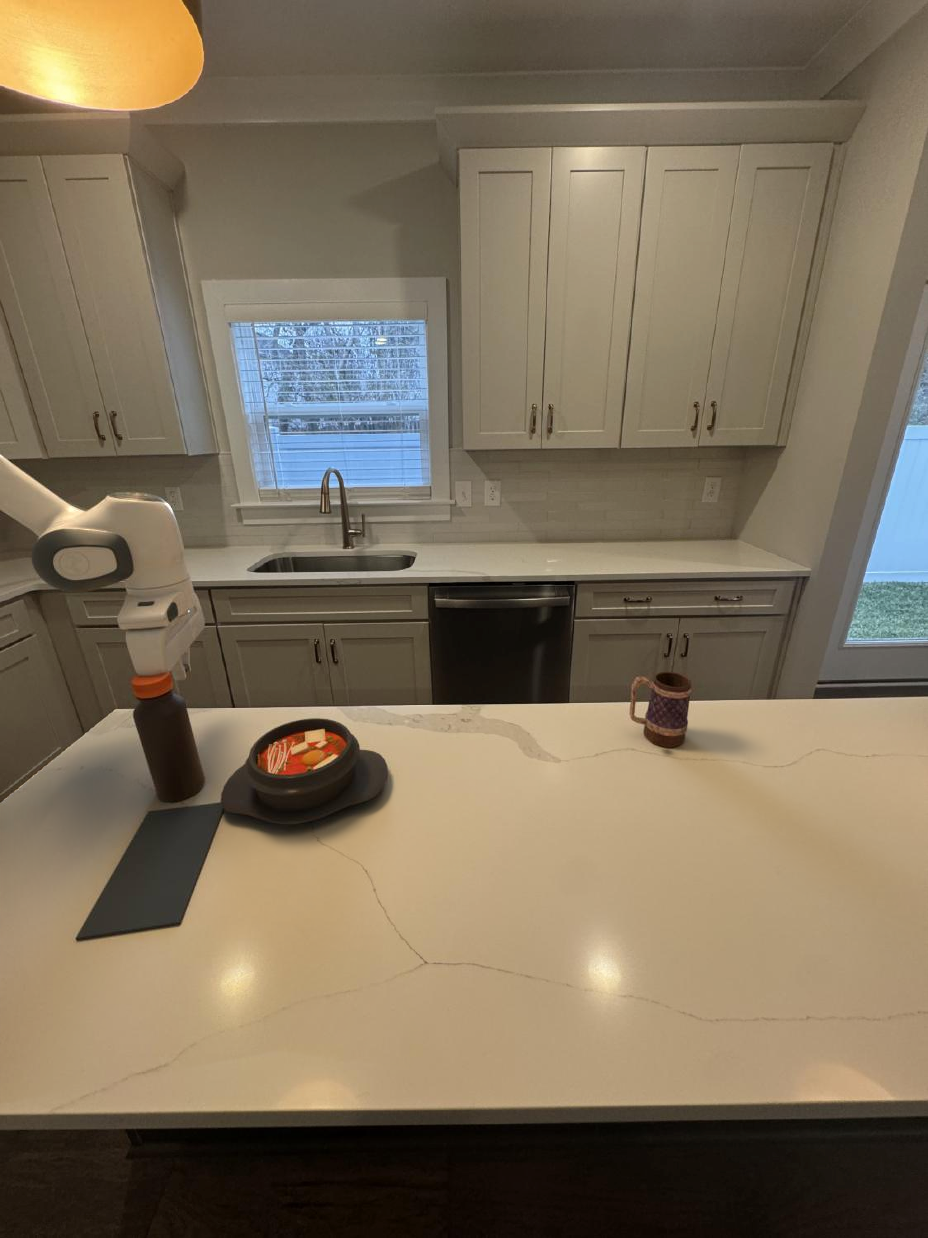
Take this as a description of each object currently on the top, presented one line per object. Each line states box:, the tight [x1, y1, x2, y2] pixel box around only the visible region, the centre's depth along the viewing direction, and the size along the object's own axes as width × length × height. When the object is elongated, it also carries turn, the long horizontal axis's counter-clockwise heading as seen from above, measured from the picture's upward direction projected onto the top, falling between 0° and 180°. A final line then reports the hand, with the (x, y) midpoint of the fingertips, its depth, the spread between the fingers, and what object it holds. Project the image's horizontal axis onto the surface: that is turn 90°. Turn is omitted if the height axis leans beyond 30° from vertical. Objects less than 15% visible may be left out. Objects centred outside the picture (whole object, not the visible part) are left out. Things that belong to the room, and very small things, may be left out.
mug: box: [628, 671, 692, 748], centre depth 89 cm, size 10×7×12 cm
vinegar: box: [130, 671, 206, 803], centre depth 77 cm, size 7×7×20 cm
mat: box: [75, 801, 225, 941], centre depth 67 cm, size 11×20×1 cm, turn 9°
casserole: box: [220, 717, 389, 825], centre depth 78 cm, size 25×19×8 cm
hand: (183, 676), depth 84 cm, fingers closed
